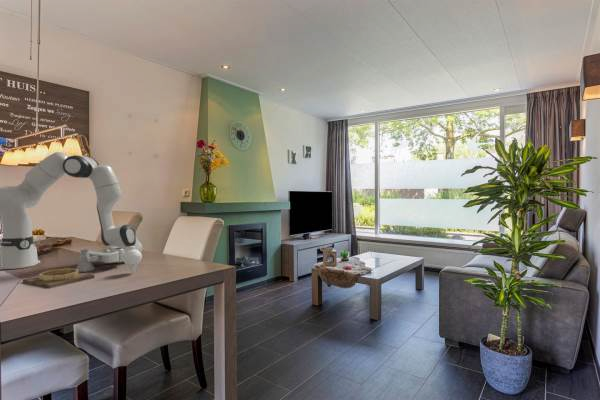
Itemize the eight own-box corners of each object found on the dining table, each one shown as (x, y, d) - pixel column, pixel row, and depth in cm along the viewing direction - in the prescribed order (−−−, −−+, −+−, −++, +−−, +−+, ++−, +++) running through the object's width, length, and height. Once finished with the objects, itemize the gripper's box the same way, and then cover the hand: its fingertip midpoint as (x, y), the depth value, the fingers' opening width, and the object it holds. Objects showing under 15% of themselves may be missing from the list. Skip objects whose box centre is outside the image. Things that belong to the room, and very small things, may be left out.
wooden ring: (32, 279, 137) (31, 274, 137) (66, 272, 148) (66, 267, 148) (51, 282, 131) (51, 277, 131) (85, 275, 143) (85, 270, 143)
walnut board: (22, 282, 136) (22, 279, 136) (67, 273, 151) (67, 270, 151) (50, 288, 128) (50, 284, 128) (94, 277, 143) (94, 274, 143)
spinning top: (118, 274, 150) (118, 247, 149) (134, 270, 156) (133, 244, 156) (130, 275, 146) (130, 248, 146) (145, 272, 153) (145, 245, 153)
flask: (85, 272, 152) (85, 250, 152) (71, 272, 153) (71, 250, 153) (98, 269, 159) (97, 248, 159) (84, 268, 161) (84, 247, 160)
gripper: (97, 246, 172) (69, 250, 160) (124, 249, 163) (97, 253, 151) (97, 258, 172) (69, 263, 160) (125, 262, 164) (97, 268, 151)
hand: (83, 259), depth 155 cm, fingers closed on flask, 3 cm apart
